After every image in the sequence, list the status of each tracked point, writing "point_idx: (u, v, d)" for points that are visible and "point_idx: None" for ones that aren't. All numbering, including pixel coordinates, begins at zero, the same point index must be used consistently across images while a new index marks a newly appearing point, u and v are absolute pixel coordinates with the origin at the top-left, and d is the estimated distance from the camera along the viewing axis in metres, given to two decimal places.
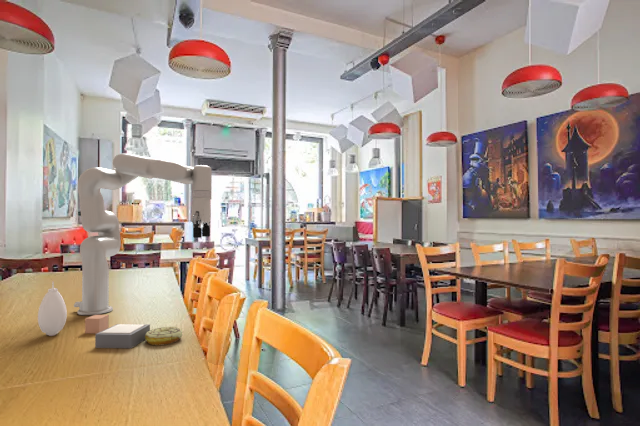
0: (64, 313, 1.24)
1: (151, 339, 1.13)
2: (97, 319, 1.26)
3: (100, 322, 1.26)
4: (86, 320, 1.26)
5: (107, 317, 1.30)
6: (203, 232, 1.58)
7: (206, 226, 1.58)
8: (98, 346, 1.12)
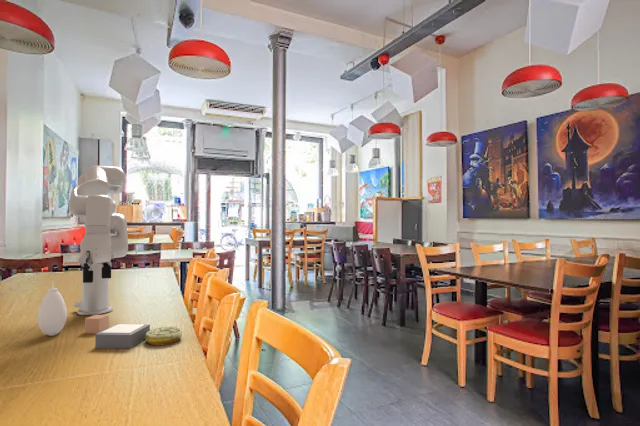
0: (64, 313, 1.24)
1: (151, 339, 1.13)
2: (97, 319, 1.26)
3: (100, 322, 1.26)
4: (86, 320, 1.26)
5: (107, 317, 1.30)
6: (103, 273, 1.33)
7: (106, 266, 1.33)
8: (98, 346, 1.12)
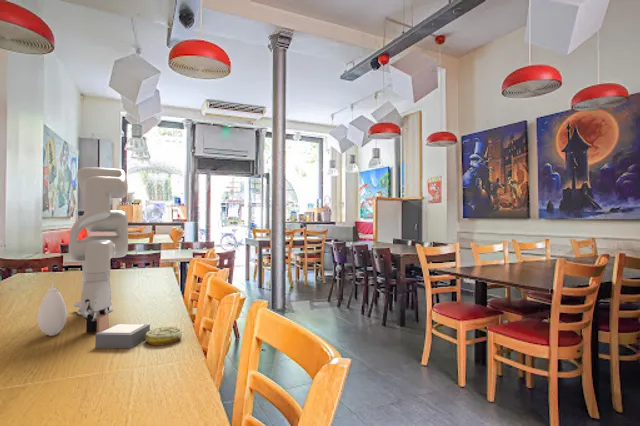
0: (64, 313, 1.24)
1: (151, 339, 1.13)
2: (97, 319, 1.26)
3: (100, 322, 1.26)
4: None
5: (107, 317, 1.30)
6: None
7: None
8: (98, 346, 1.12)
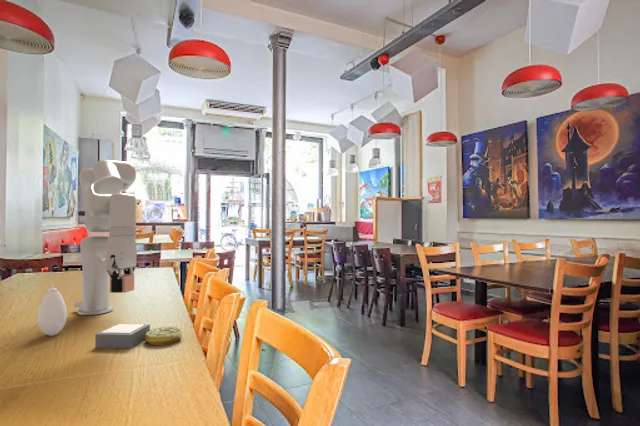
0: (64, 313, 1.24)
1: (151, 339, 1.13)
2: (123, 277, 1.15)
3: (126, 281, 1.16)
4: None
5: (133, 276, 1.20)
6: None
7: None
8: (98, 346, 1.12)
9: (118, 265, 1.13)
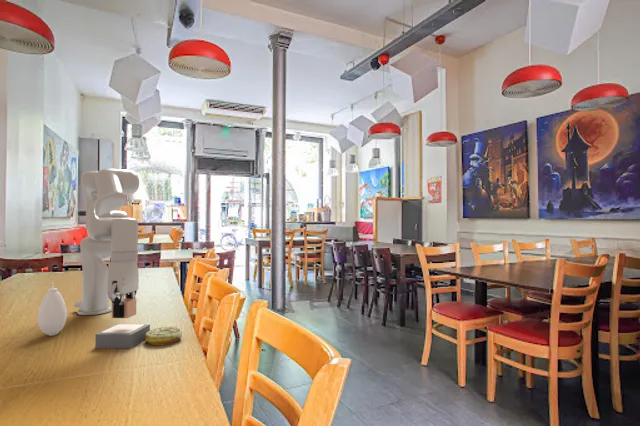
0: (64, 313, 1.24)
1: (151, 339, 1.13)
2: (125, 302, 1.14)
3: (128, 306, 1.15)
4: None
5: (135, 301, 1.19)
6: None
7: None
8: (98, 346, 1.12)
9: (120, 291, 1.12)
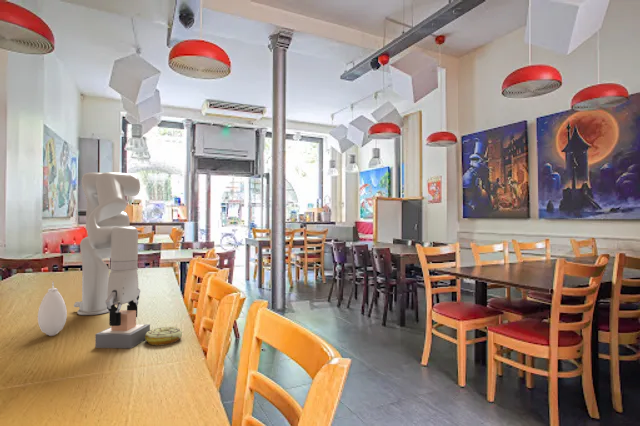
0: (64, 313, 1.24)
1: (151, 339, 1.13)
2: (125, 315, 1.15)
3: (128, 318, 1.15)
4: None
5: (135, 313, 1.19)
6: None
7: (132, 304, 1.21)
8: (98, 346, 1.12)
9: (120, 300, 1.12)
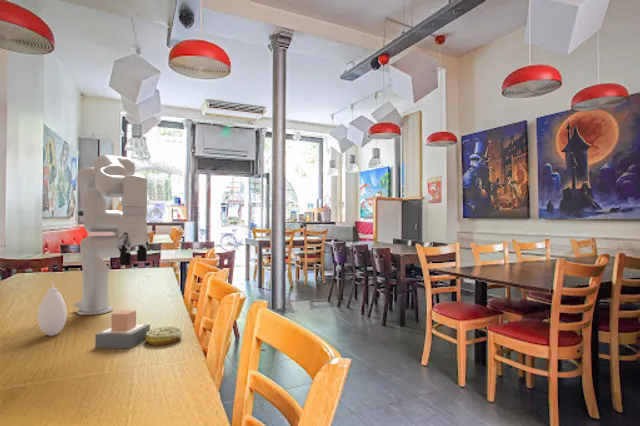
0: (64, 313, 1.24)
1: (151, 339, 1.13)
2: (125, 315, 1.15)
3: (128, 318, 1.15)
4: (112, 316, 1.15)
5: (135, 313, 1.19)
6: (138, 256, 1.30)
7: (142, 249, 1.30)
8: (98, 346, 1.12)
9: (130, 242, 1.21)
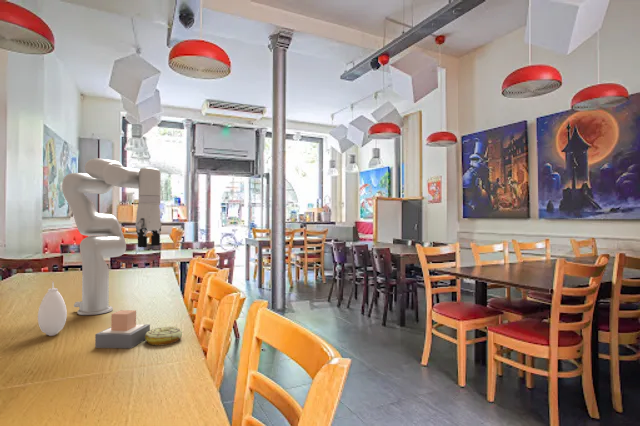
0: (64, 313, 1.24)
1: (151, 339, 1.13)
2: (125, 315, 1.15)
3: (128, 318, 1.15)
4: (112, 316, 1.15)
5: (135, 313, 1.19)
6: (152, 241, 1.45)
7: (156, 234, 1.45)
8: (98, 346, 1.12)
9: (147, 227, 1.36)
